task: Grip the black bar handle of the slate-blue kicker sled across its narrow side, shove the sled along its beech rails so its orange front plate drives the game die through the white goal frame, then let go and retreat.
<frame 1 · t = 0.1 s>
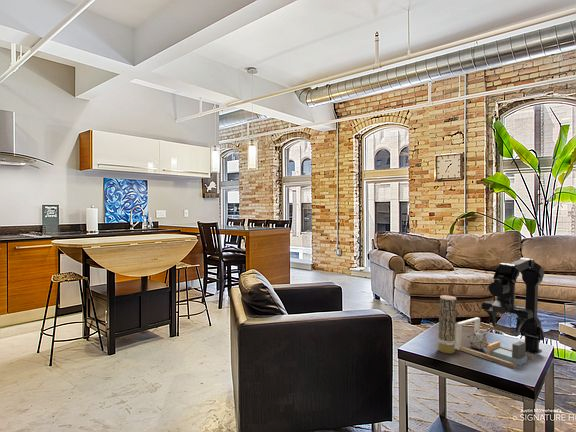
hand: (505, 329, 160), 14 cm above the table, fingers open, 9 cm apart
goal: (467, 345, 180), on the table
rails: (495, 354, 170), on the table
sled: (507, 349, 165), point 4 cm above the table, slide at 0.0 cm
bark log: (445, 351, 172), on the table
game die: (477, 349, 176), on the table
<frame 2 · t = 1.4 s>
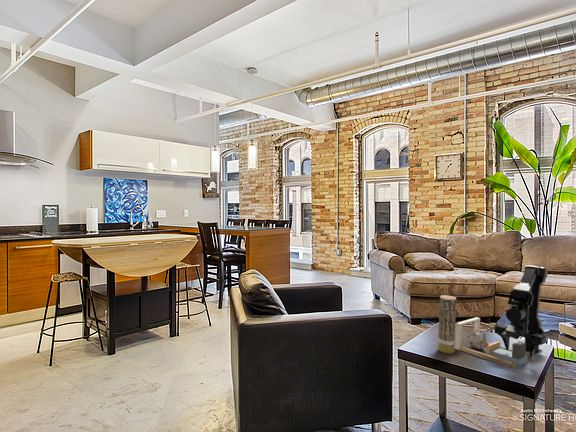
hand: (518, 353, 162), 4 cm above the table, fingers open, 9 cm apart
nothing on the table moved.
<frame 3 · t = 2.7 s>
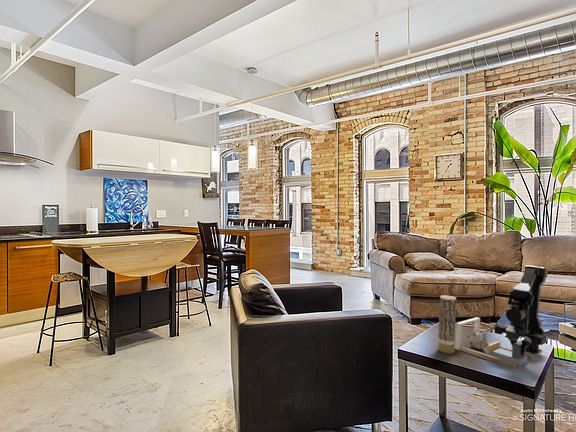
hand: (518, 354, 162), 4 cm above the table, fingers closed on sled, 2 cm apart
sled: (507, 349, 165), point 4 cm above the table, slide at 0.0 cm, touching gripper
everything else where it was.
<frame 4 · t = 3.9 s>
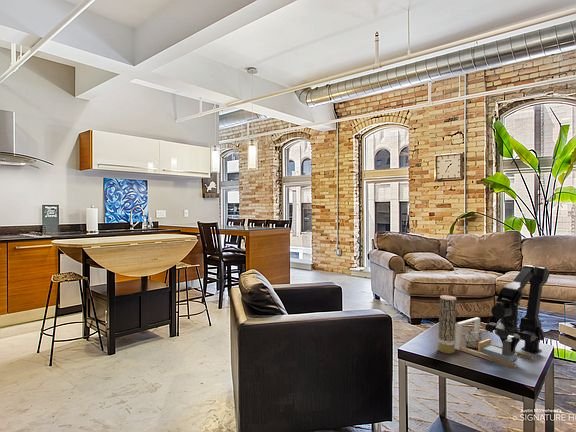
hand: (508, 351, 165), 4 cm above the table, fingers closed on sled, 2 cm apart
sled: (498, 346, 169), point 4 cm above the table, slide at 4.0 cm, touching game die, gripper
game die: (473, 348, 177), on the table, touching sled
everything else where it was.
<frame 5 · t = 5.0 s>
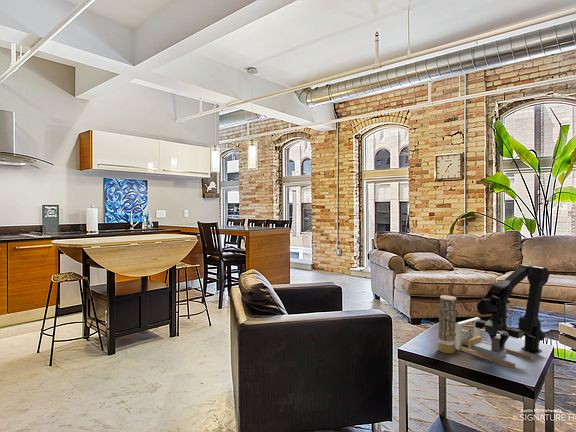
hand: (497, 347, 169), 4 cm above the table, fingers open, 3 cm apart
sled: (487, 343, 172), point 4 cm above the table, slide at 8.6 cm, touching game die, gripper
game die: (463, 345, 180), on the table, touching sled
everything else where it was.
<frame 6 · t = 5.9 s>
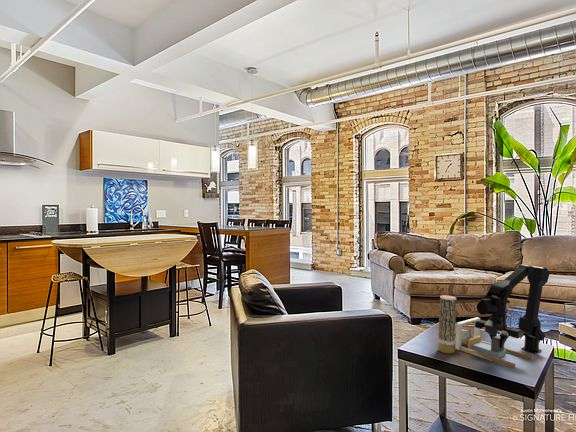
hand: (497, 347, 169), 4 cm above the table, fingers closed on sled, 2 cm apart
sled: (487, 343, 172), point 4 cm above the table, slide at 8.8 cm, touching gripper
game die: (463, 345, 180), on the table
everything else where it was.
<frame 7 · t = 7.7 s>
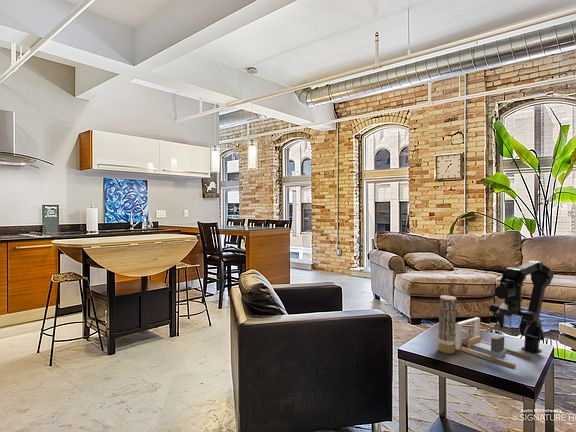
hand: (512, 331, 167), 12 cm above the table, fingers open, 9 cm apart
sled: (487, 343, 173), point 4 cm above the table, slide at 8.8 cm
everything else where it was.
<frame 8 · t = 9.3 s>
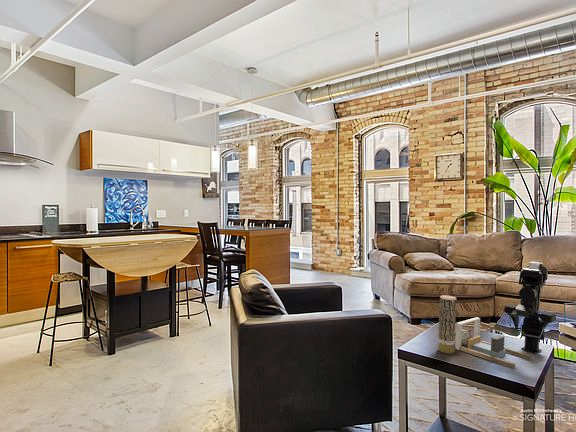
hand: (528, 332, 164), 12 cm above the table, fingers open, 9 cm apart
nothing on the table moved.
at the end: game die inside the target area (6.1 cm from its centre), on the table; sled slide at 8.8 cm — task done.
